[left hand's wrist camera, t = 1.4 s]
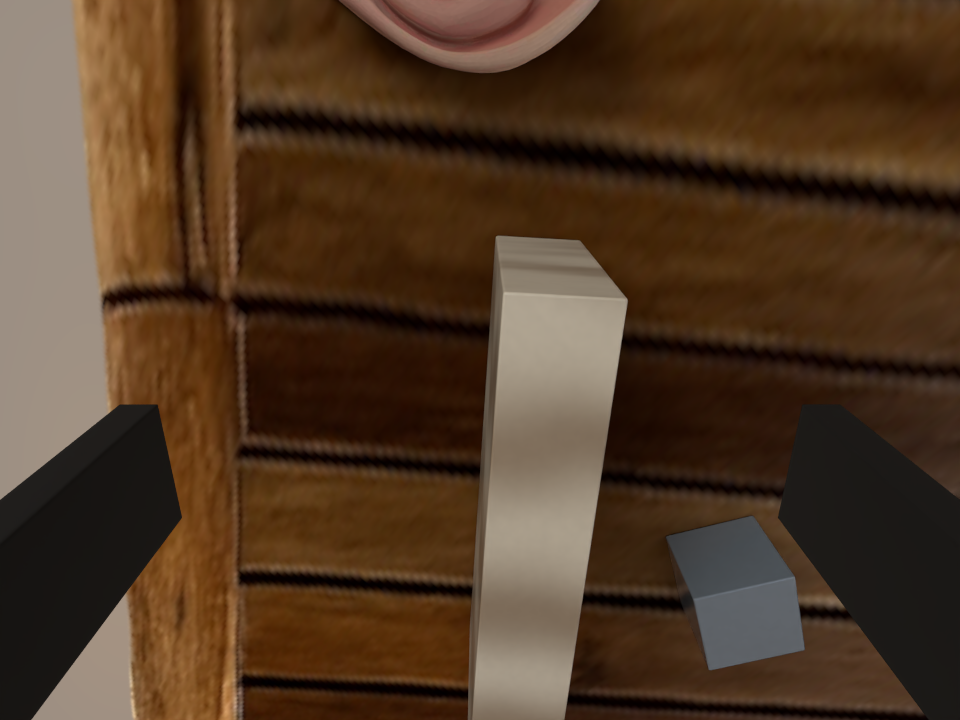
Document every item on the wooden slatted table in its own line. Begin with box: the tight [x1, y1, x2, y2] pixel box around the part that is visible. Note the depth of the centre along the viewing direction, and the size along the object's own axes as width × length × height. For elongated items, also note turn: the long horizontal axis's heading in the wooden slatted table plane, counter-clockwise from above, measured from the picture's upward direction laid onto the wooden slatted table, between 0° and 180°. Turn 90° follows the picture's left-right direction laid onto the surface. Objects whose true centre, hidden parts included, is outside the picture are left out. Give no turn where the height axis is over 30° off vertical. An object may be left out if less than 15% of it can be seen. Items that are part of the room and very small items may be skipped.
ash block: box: [468, 236, 628, 720], centre depth 28 cm, size 24×4×10 cm, turn 177°
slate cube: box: [666, 516, 805, 670], centre depth 33 cm, size 5×5×5 cm
